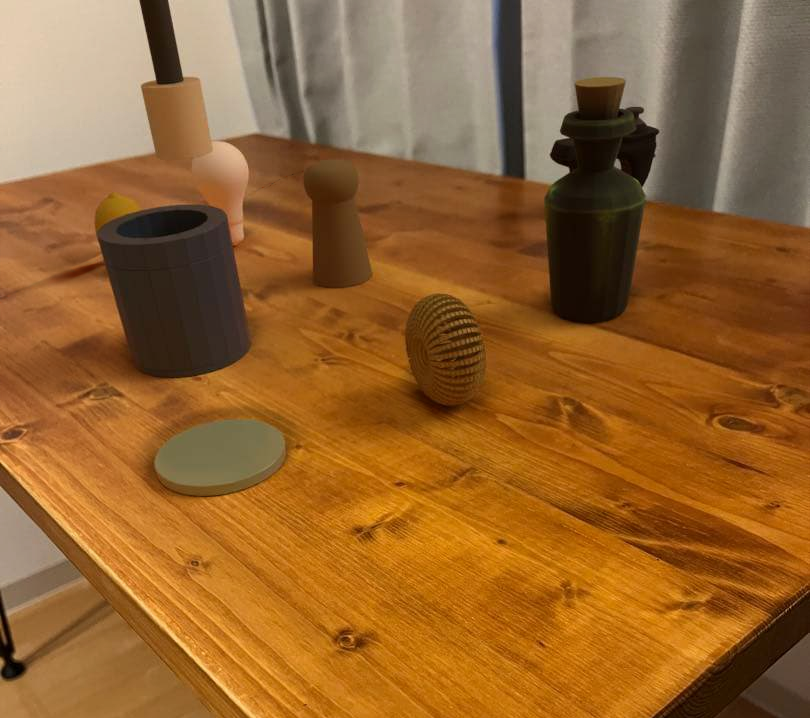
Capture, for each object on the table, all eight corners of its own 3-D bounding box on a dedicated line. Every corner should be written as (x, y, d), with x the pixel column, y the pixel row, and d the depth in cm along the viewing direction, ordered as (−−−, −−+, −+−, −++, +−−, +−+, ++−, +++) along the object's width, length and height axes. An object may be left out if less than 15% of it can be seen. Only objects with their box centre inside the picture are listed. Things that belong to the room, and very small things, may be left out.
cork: (383, 269, 89) (372, 155, 83) (351, 290, 85) (337, 171, 79) (334, 263, 92) (320, 152, 85) (301, 283, 88) (283, 168, 81)
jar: (108, 365, 75) (69, 236, 69) (189, 321, 82) (161, 200, 75) (195, 386, 70) (162, 250, 64) (274, 338, 77) (252, 210, 71)
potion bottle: (651, 299, 78) (671, 72, 67) (613, 333, 72) (629, 94, 62) (567, 286, 82) (574, 70, 71) (526, 318, 76) (527, 90, 66)
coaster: (129, 477, 60) (126, 467, 59) (217, 418, 66) (215, 409, 65) (228, 509, 56) (225, 499, 55) (312, 443, 62) (310, 433, 61)
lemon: (140, 278, 93) (120, 200, 88) (97, 276, 94) (74, 199, 90) (168, 260, 97) (149, 185, 92) (125, 258, 99) (105, 184, 94)
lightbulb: (224, 258, 96) (203, 151, 89) (197, 247, 100) (175, 144, 93) (271, 243, 99) (254, 139, 92) (243, 233, 103) (225, 132, 96)
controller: (658, 203, 100) (667, 107, 94) (562, 222, 97) (564, 125, 91) (638, 194, 103) (645, 101, 97) (544, 212, 100) (545, 118, 94)
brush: (186, 161, 66) (129, -119, 56) (144, 157, 68) (82, -114, 58) (224, 148, 69) (176, -122, 59) (183, 144, 71) (130, -117, 61)
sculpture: (496, 415, 63) (495, 308, 58) (446, 430, 62) (440, 322, 57) (447, 373, 69) (442, 273, 64) (400, 386, 68) (392, 285, 63)
